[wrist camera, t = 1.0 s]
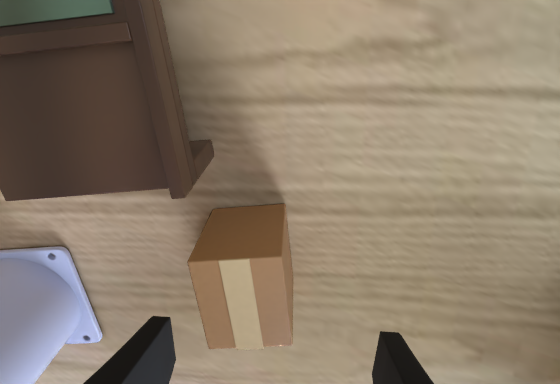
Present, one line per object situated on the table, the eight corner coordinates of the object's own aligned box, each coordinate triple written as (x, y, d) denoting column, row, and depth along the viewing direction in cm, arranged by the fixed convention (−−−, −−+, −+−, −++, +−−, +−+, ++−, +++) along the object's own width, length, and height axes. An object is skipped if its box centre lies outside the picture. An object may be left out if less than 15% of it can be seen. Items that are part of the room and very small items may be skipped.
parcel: (227, 282, 23) (208, 351, 18) (212, 208, 21) (186, 262, 16) (293, 278, 23) (292, 348, 18) (285, 203, 21) (282, 257, 15)
